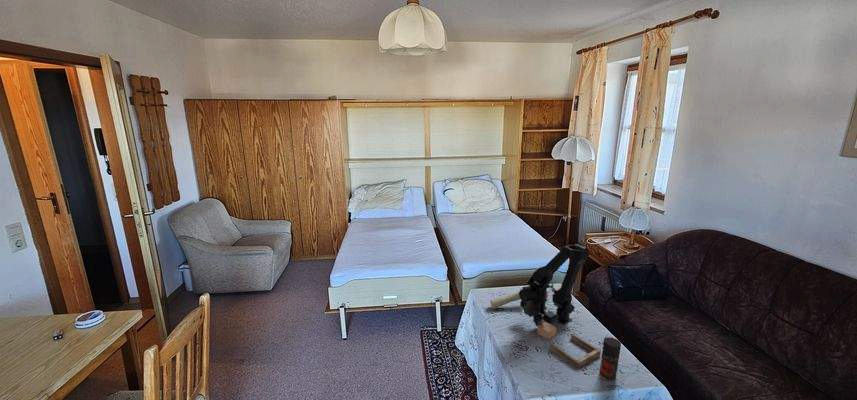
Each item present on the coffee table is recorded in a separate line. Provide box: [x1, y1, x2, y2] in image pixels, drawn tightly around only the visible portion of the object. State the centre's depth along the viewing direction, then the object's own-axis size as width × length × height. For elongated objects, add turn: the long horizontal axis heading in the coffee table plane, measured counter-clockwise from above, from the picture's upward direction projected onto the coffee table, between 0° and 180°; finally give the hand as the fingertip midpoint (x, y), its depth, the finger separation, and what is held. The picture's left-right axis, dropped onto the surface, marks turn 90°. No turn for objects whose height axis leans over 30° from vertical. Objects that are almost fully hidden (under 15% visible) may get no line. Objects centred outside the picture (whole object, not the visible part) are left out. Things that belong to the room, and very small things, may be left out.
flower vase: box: [489, 282, 556, 310], centre depth 191 cm, size 12×12×35 cm
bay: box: [550, 333, 602, 369], centre depth 155 cm, size 15×14×2 cm
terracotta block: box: [536, 322, 557, 340], centre depth 168 cm, size 6×6×4 cm
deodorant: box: [599, 336, 622, 381], centre depth 141 cm, size 6×6×15 cm
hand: (537, 325), depth 173 cm, fingers closed
